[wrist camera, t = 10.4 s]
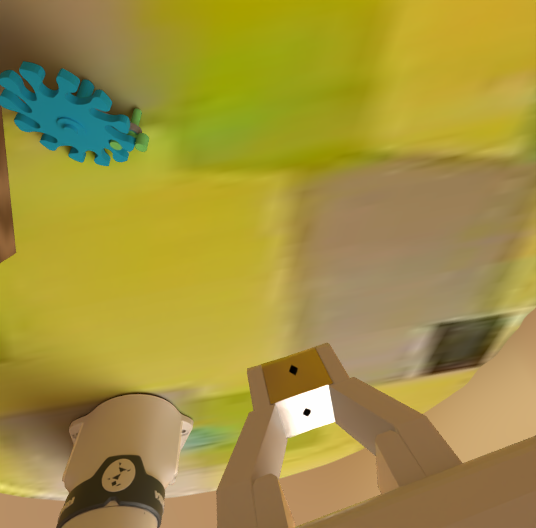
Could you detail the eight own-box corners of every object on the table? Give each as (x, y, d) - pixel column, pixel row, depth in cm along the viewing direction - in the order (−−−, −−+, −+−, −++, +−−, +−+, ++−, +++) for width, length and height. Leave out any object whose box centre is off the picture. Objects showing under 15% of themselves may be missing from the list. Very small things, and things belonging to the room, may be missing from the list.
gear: (11, 146, 26) (-31, 46, 18) (32, 100, 28) (4, -8, 20) (139, 185, 31) (152, 121, 23) (148, 144, 33) (164, 71, 25)
